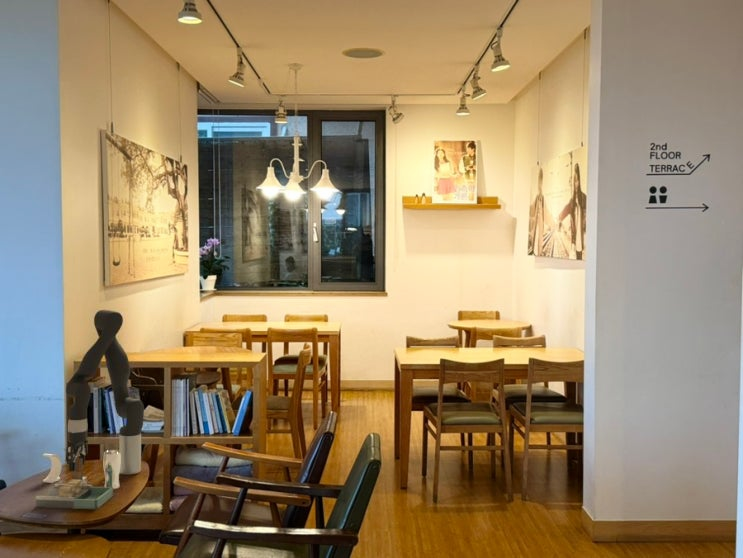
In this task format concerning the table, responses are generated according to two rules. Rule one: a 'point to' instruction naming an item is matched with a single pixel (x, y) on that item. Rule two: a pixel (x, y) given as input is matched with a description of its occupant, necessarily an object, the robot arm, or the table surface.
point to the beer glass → (112, 468)
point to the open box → (61, 498)
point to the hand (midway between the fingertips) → (76, 468)
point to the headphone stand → (54, 468)
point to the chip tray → (94, 498)
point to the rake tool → (79, 471)
